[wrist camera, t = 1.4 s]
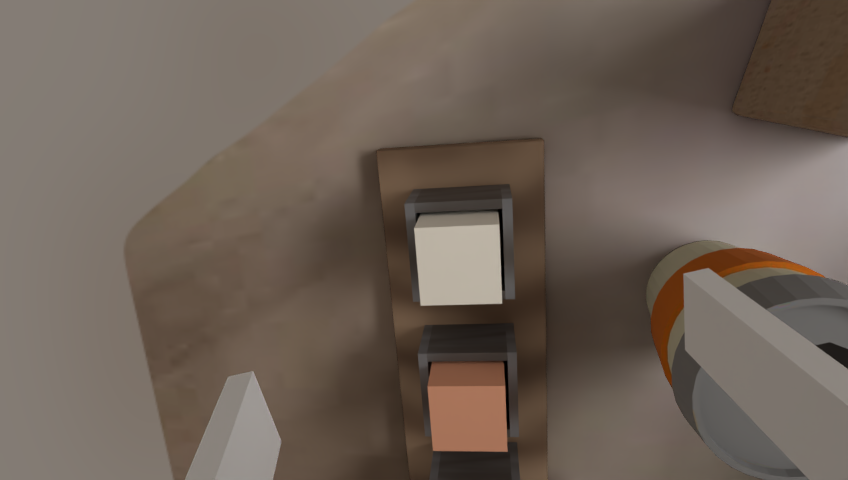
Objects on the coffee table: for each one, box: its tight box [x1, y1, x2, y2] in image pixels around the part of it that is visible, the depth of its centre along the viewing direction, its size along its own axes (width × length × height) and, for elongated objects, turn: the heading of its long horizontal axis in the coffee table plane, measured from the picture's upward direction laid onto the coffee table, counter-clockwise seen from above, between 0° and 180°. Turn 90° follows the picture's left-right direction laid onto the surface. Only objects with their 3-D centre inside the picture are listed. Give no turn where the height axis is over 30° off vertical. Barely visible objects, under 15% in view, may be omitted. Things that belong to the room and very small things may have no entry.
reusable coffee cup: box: [646, 241, 848, 480], centre depth 37 cm, size 13×13×15 cm
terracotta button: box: [427, 361, 508, 452], centre depth 42 cm, size 6×6×5 cm
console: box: [376, 138, 548, 480], centre depth 45 cm, size 38×13×6 cm, turn 4°
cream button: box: [414, 209, 502, 306], centre depth 38 cm, size 6×6×5 cm
